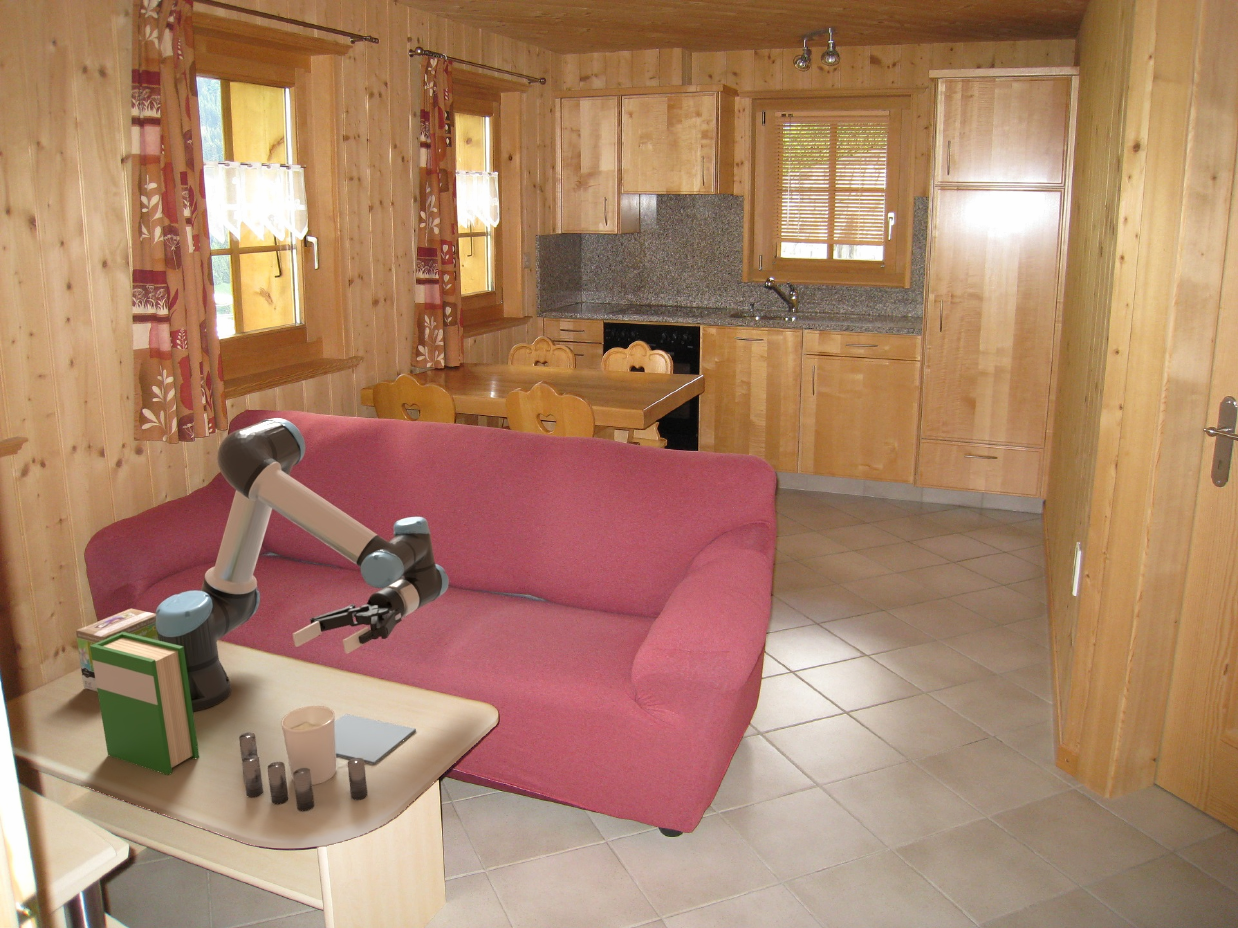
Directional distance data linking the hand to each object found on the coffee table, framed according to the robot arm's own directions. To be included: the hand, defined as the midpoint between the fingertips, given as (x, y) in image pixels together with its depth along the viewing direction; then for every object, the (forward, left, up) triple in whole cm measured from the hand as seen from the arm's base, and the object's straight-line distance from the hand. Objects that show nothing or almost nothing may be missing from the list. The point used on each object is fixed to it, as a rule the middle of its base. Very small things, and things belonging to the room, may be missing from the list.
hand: (319, 643), depth 196 cm
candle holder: (+2, -7, -24) cm, 25 cm away
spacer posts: (+2, -14, -24) cm, 28 cm away
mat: (+2, +7, -24) cm, 25 cm away
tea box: (-68, +10, -24) cm, 73 cm away
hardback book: (-33, -14, -24) cm, 43 cm away
